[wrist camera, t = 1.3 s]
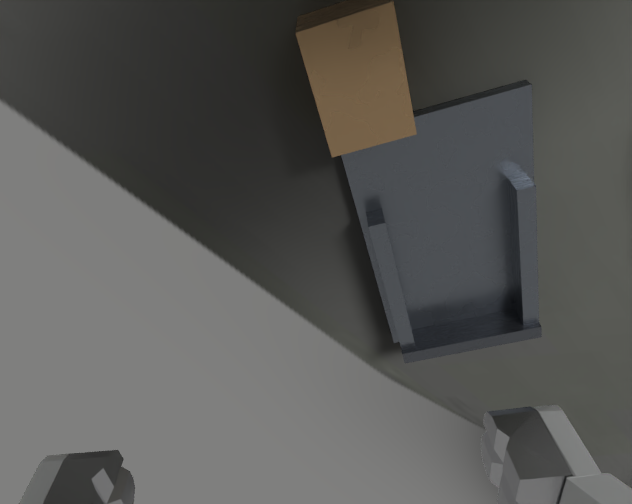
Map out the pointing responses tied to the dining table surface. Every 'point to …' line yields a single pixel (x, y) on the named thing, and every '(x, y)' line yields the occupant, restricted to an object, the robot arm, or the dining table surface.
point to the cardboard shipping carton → (357, 73)
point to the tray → (454, 224)
